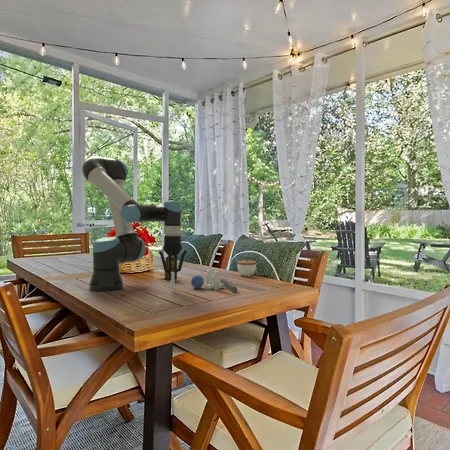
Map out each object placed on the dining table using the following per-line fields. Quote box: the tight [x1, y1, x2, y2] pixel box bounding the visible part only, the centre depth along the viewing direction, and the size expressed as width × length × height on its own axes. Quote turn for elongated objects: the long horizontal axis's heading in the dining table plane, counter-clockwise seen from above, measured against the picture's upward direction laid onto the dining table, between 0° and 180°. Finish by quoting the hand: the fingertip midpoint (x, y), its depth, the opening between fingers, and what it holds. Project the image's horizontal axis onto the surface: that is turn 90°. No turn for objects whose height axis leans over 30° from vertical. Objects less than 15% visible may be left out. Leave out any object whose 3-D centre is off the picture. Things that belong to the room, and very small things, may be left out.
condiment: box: [159, 256, 180, 282], centre depth 197 cm, size 7×8×12 cm
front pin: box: [204, 282, 225, 290], centre depth 176 cm, size 2×2×8 cm
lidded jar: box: [237, 258, 257, 277], centre depth 211 cm, size 11×11×9 cm
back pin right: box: [213, 270, 220, 291], centre depth 174 cm, size 2×2×8 cm
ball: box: [190, 275, 205, 289], centre depth 177 cm, size 6×6×6 cm
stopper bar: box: [220, 278, 238, 294], centre depth 178 cm, size 2×20×2 cm, turn 16°
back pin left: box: [206, 269, 213, 284], centre depth 178 cm, size 2×2×8 cm
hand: (172, 286), depth 171 cm, fingers closed
